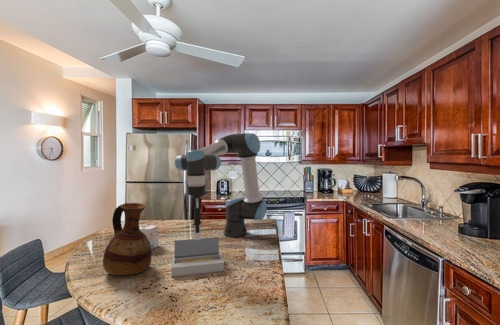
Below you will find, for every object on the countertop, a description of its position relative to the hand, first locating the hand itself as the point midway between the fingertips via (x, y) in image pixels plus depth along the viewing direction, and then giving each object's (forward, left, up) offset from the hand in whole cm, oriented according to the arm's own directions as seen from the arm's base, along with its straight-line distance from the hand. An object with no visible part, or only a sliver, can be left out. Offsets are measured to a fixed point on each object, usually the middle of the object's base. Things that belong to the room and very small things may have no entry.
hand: (197, 239), depth 118 cm
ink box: (+26, -40, -14) cm, 49 cm away
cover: (0, -7, -6) cm, 9 cm away
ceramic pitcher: (+30, -9, -14) cm, 34 cm away
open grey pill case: (0, -4, -14) cm, 14 cm away
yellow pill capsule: (0, -4, -12) cm, 13 cm away
